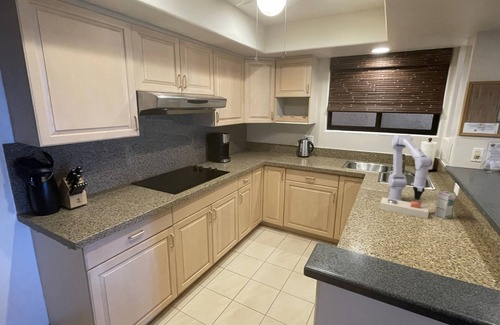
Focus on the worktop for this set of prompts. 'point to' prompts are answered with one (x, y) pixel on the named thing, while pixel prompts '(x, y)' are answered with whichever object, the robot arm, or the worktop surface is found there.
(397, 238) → the worktop surface
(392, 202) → the grey button
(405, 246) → the worktop surface
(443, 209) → the syrup box
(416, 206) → the red button
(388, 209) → the control box
